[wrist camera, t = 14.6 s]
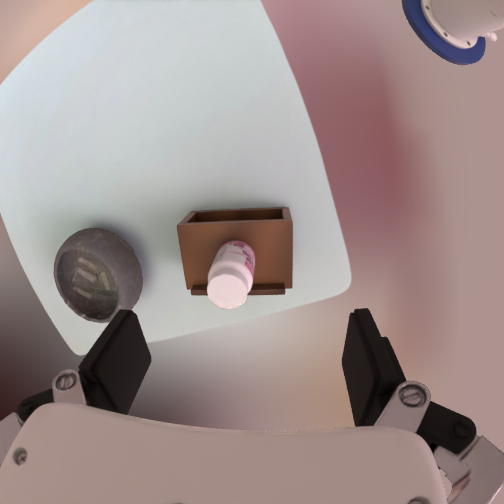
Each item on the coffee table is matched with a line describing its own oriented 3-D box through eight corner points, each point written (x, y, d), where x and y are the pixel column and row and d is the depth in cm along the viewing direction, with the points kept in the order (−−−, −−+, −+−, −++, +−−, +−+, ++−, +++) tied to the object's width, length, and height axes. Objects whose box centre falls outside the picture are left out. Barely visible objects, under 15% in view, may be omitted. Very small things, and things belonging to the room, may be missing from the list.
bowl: (142, 310, 48) (120, 345, 39) (77, 274, 46) (47, 301, 37) (164, 241, 43) (139, 270, 33) (89, 204, 41) (52, 223, 32)
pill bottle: (263, 254, 35) (261, 290, 27) (240, 281, 36) (232, 320, 29) (232, 231, 34) (220, 261, 26) (210, 260, 35) (193, 295, 28)
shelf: (288, 206, 39) (293, 225, 32) (289, 265, 43) (293, 294, 35) (191, 211, 40) (172, 229, 33) (198, 267, 44) (184, 295, 36)
